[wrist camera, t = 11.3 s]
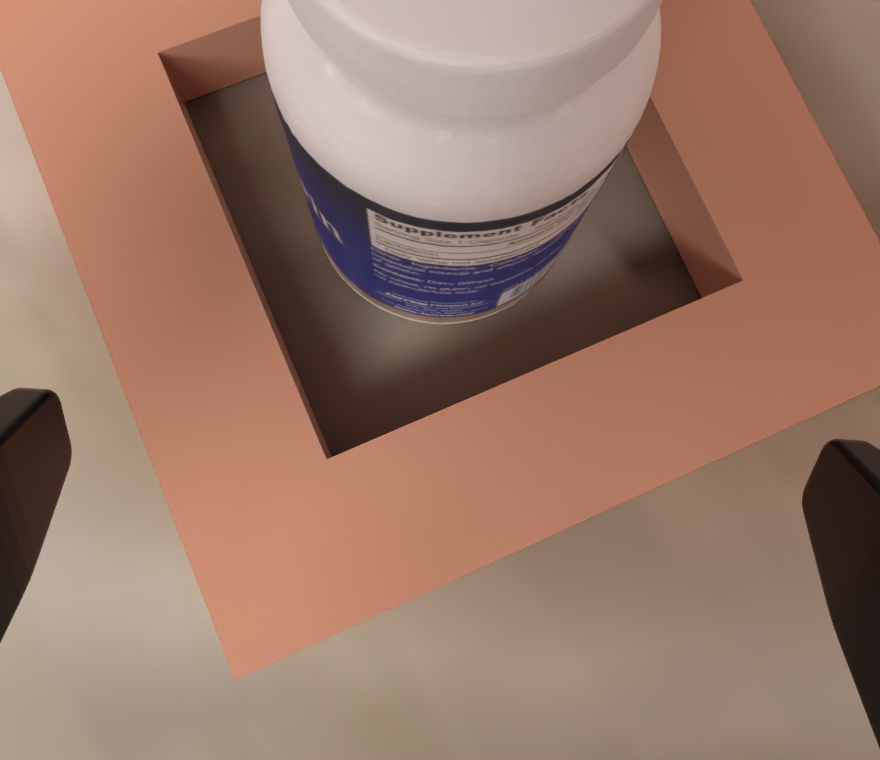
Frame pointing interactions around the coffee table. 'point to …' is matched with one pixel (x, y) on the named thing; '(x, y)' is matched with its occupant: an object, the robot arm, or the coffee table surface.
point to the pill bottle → (455, 135)
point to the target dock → (477, 418)
